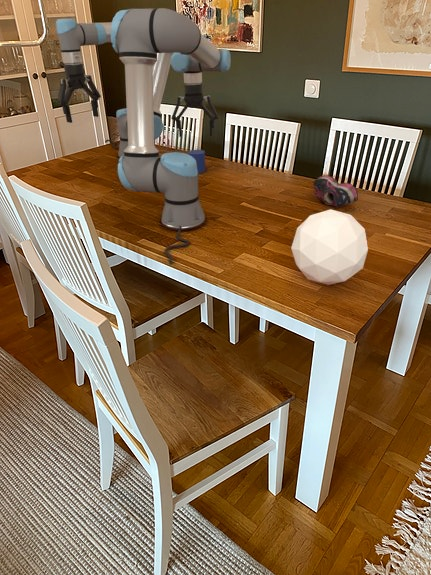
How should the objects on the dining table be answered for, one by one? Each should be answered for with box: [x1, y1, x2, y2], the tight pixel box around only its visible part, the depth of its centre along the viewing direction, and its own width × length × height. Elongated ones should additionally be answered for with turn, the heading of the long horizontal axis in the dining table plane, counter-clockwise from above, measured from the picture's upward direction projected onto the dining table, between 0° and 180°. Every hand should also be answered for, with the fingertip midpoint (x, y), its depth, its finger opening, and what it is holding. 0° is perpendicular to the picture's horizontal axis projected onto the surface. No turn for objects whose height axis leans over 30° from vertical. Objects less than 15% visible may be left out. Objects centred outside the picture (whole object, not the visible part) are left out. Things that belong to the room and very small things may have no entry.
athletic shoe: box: [311, 174, 359, 208], centre depth 165 cm, size 11×22×12 cm
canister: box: [187, 149, 206, 174], centre depth 202 cm, size 7×7×9 cm
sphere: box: [290, 208, 369, 286], centre depth 117 cm, size 19×20×20 cm
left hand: (83, 119), depth 188 cm, fingers open, 13 cm apart
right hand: (195, 135), depth 196 cm, fingers open, 13 cm apart
